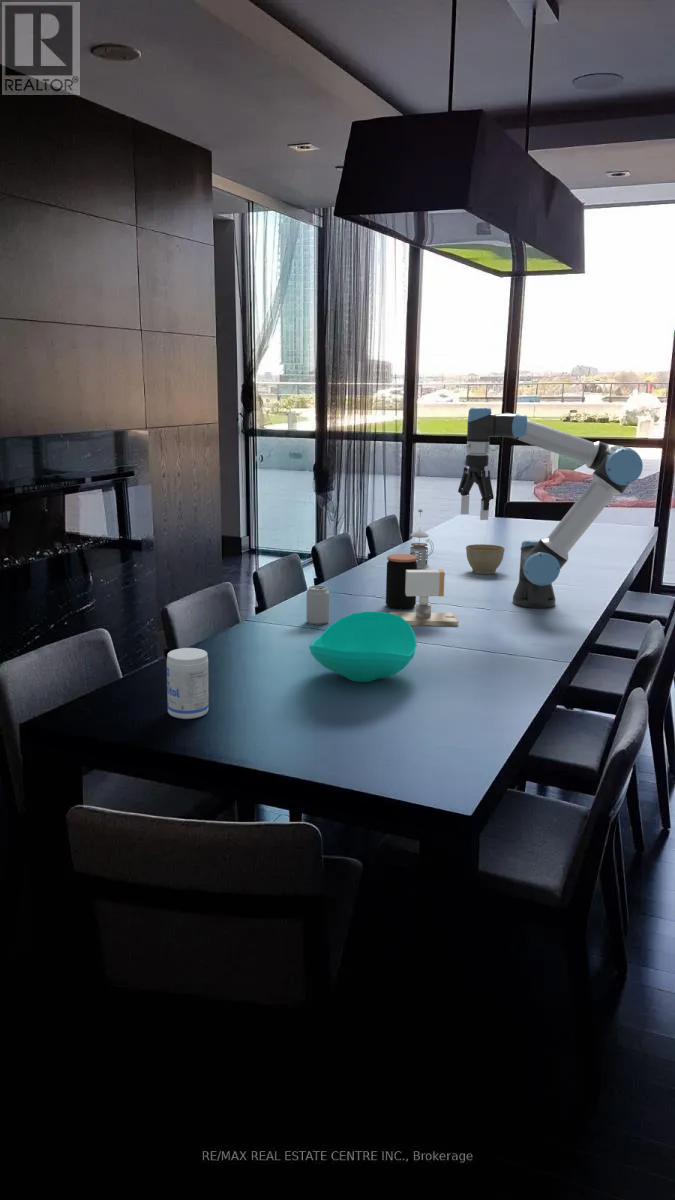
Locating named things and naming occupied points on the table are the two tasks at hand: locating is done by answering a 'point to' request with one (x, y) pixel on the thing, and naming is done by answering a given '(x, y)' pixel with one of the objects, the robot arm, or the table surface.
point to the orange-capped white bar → (424, 584)
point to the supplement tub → (187, 683)
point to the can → (317, 605)
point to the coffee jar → (399, 581)
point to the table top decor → (366, 646)
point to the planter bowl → (484, 557)
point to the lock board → (429, 621)
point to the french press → (420, 548)
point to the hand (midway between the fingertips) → (474, 517)
